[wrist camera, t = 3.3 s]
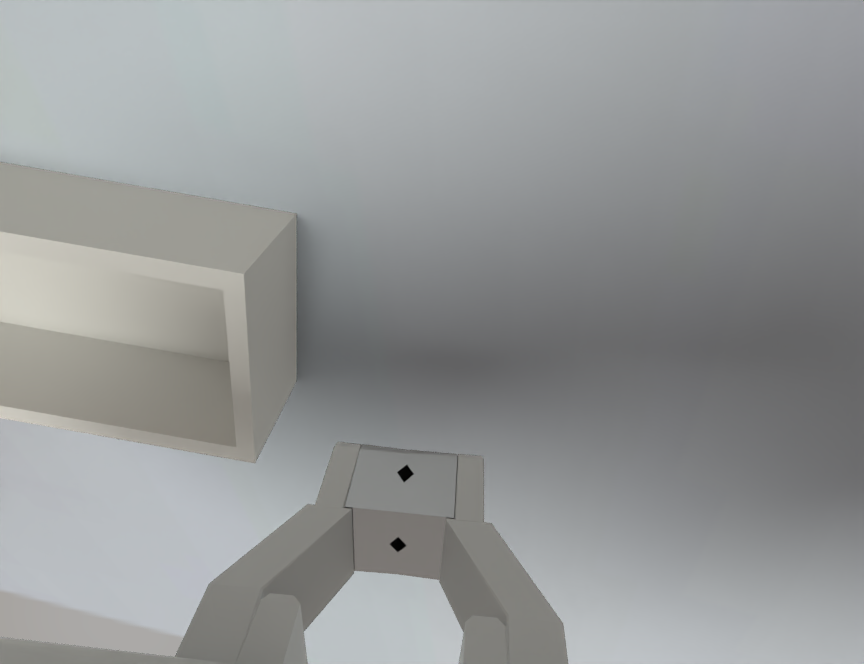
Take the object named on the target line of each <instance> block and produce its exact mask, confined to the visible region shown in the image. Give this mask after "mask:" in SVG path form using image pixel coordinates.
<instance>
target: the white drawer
mask: <svg viewBox="0 0 864 664" xmlns="http://www.w3.org/2000/svg"><path fill="white" fill-rule="evenodd" d="M296 382H297V213H291V212H285V211H279V210H274V209H268V208H262V207H256V206H251V205H245V204H239V203H233V202H228V201H222V200H216V199H210V198H205V197H199V196H193V195H187V194H182V193H176V192H170V191H164V190H159V189H153V188H147V187H141V186H136V185H130V184H124V183H118V182H113V181H107V180H101V179H95V178H90V177H84V176H78V175H72V174H67V173H61V172H55V171H49V170H44V169H38V168H32V167H26V166H21V165H15V164H9V163H3V162H0V418H3V419H9V420H15V421H20V422H26V423H31V424H37V425H43V426H48V427H54V428H60V429H65V430H71V431H76V432H82V433H88V434H93V435H99V436H105V437H110V438H116V439H121V440H127V441H133V442H138V443H144V444H150V445H155V446H161V447H166V448H172V449H178V450H183V451H189V452H195V453H200V454H206V455H211V456H217V457H223V458H228V459H234V460H240V461H245V462H251V463H256V461H257V459H258V457H259V455H260V453H261V451H262V449H263V447H264V445H265V443H266V441H267V439H268V437H269V435H270V433H271V431H272V429H273V427H274V425H275V423H276V421H277V419H278V417H279V415H280V413H281V411H282V409H283V407H284V405H285V403H286V401H287V400H288V398H289V396H290V394H291V392H292V390H293V388H294V386H295V384H296Z"/></svg>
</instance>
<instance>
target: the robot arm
mask: <svg viewBox="0 0 864 664" xmlns="http://www.w3.org/2000/svg"><path fill="white" fill-rule="evenodd" d="M354 571H365V572H378V573H390V574H400V575H407V576H415V577H422V578H430V579H437V580H440V584H441V586H442V588H443V590H444V592H445V595H446V597H447V599H448V601H449V603H450V605H451V607H452V609H453V611H454V613H455V615H456V617H457V620H458V622H459V624H460V626H461V628H462V630H463V632H464V634H463V640H462V646H461V652H460V658H459V664H568V657H567V649H566V641H565V634H564V626H563V623H562V621H561V620H560V618H559V617H558V616H557V614H556V613H555V611H554V610H553V609H552V607H551V606H550V604H549V603H548V602H547V600H546V599H545V597H544V596H543V595H542V593H541V592H540V590H539V589H538V588H537V586H536V585H535V583H534V582H533V581H532V579H531V578H530V576H529V575H528V574H527V572H526V571H525V569H524V568H523V567H522V565H521V564H520V562H519V561H518V560H517V558H516V557H515V555H514V554H513V553H512V551H511V550H510V548H509V547H508V546H507V544H506V543H505V541H504V540H503V539H502V537H501V536H500V534H499V533H498V532H497V530H496V529H495V527H494V526H493V525H492V523H486V522H484V459H483V457H482V456H476V455H465V454H458V456H457V454H453V453H442V452H431V451H420V450H405V449H397V448H389V447H381V446H373V445H365V444H362V445H361V444H353V443H345V442H337V444H336V445H335V446H334V449H333V452H332V455H331V458H330V461H329V464H328V467H327V470H326V473H325V476H324V479H323V482H322V485H321V488H320V491H319V494H318V497H317V500H316V503H315V505H312V504H307V505H306V506H305V507H304V508H302V509H301V510H300V511H299V512H297V513H296V514H295V515H294V516H292V517H291V518H290V519H289V520H287V521H286V522H285V523H284V524H282V525H281V526H280V527H279V528H278V529H276V530H275V531H274V532H273V533H271V534H270V535H269V536H268V537H266V538H265V539H264V540H263V541H261V542H260V543H259V544H258V545H256V546H255V547H254V548H253V549H251V550H250V551H249V552H248V553H246V554H245V555H244V556H243V557H242V558H240V559H239V560H238V561H237V562H235V563H234V564H233V565H232V566H230V567H229V568H228V569H227V570H225V571H224V572H223V573H222V574H220V575H219V576H218V577H217V578H215V579H214V580H213V581H212V582H210V583H209V585H208V587H207V589H206V591H205V593H204V595H203V598H202V600H201V602H200V604H199V606H198V608H197V610H196V612H195V615H194V617H193V619H192V621H191V623H190V625H189V627H188V630H187V632H186V634H185V636H184V638H183V640H182V642H181V645H180V647H179V649H178V651H177V653H176V655H175V657H172V656H163V655H154V654H145V653H136V652H127V651H119V650H110V649H102V648H101V649H100V648H93V647H85V646H76V645H67V644H58V643H50V642H40V641H32V640H24V639H14V638H5V637H0V664H308V662H307V654H306V646H305V638H304V631H305V630H306V629H307V627H308V626H309V625H310V624H311V623H312V622H313V620H314V619H315V618H316V617H317V616H318V615H319V613H320V612H321V611H322V610H323V609H324V608H325V607H326V605H327V604H328V603H329V602H330V601H331V600H332V598H333V597H334V596H335V595H336V594H337V593H338V591H339V590H340V589H341V588H342V587H343V586H344V584H345V583H346V582H347V581H348V580H349V579H350V577H351V576H352V575H353V574H354Z"/></svg>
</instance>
